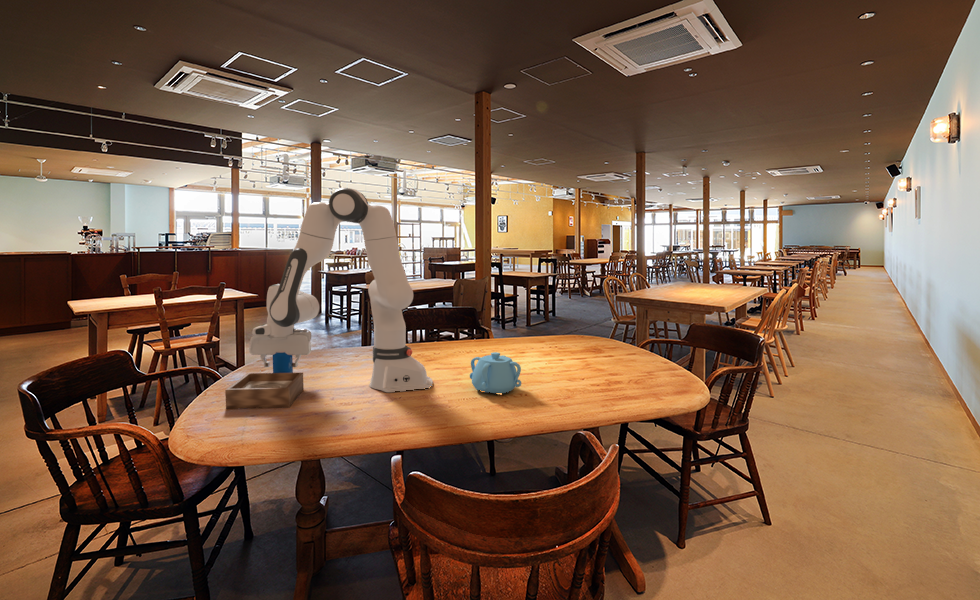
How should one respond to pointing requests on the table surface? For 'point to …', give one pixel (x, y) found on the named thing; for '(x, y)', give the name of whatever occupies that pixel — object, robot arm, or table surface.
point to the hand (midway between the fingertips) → (281, 366)
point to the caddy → (264, 390)
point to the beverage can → (282, 363)
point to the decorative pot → (495, 373)
